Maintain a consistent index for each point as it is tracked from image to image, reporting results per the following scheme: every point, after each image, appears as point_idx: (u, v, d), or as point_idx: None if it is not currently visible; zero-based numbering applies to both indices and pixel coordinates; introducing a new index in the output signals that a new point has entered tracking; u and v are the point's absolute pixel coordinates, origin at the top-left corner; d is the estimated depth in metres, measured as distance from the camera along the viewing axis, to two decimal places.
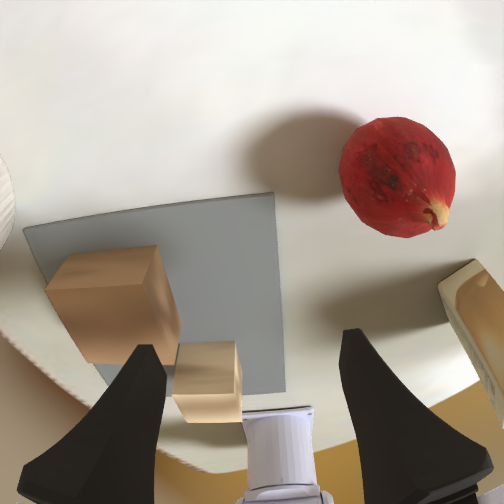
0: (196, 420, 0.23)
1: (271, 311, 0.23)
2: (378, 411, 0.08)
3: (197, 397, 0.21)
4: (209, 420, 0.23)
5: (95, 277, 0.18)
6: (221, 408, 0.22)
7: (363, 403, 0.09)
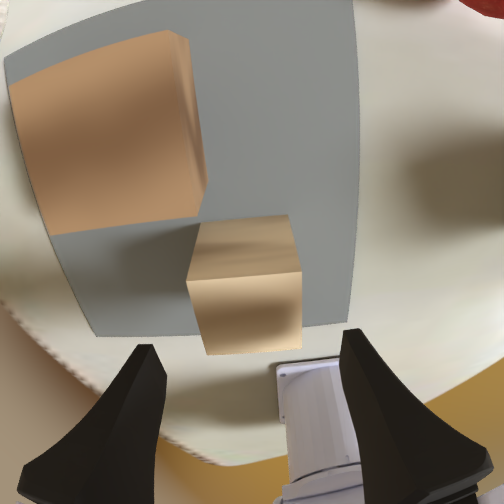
0: (224, 348, 0.15)
1: (345, 158, 0.15)
2: (378, 411, 0.08)
3: (233, 287, 0.13)
4: (246, 347, 0.15)
5: None
6: (272, 315, 0.14)
7: (364, 403, 0.09)
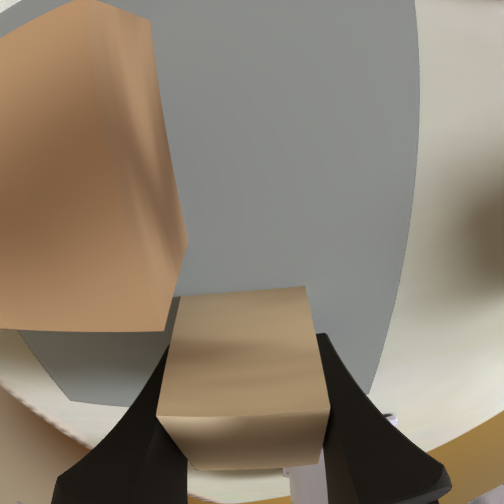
0: (217, 466, 0.10)
1: (392, 207, 0.10)
2: (334, 419, 0.08)
3: (227, 424, 0.08)
4: (247, 466, 0.10)
5: None
6: (282, 444, 0.08)
7: None
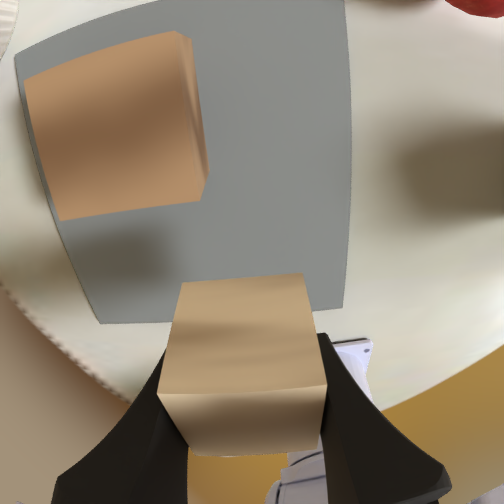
0: (216, 451, 0.10)
1: (338, 149, 0.16)
2: (333, 419, 0.08)
3: (226, 402, 0.08)
4: (246, 451, 0.10)
5: None
6: (281, 426, 0.09)
7: (324, 409, 0.09)
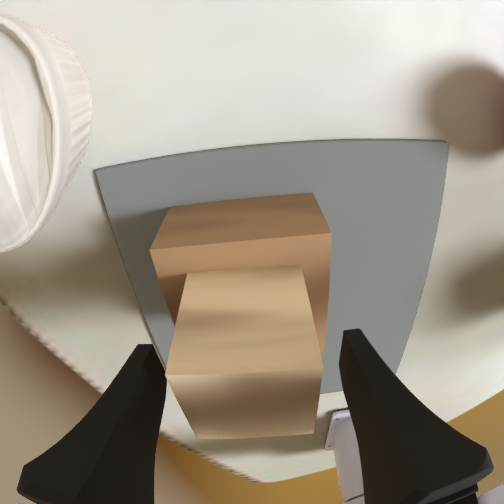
0: (218, 434, 0.11)
1: (415, 282, 0.19)
2: (378, 411, 0.08)
3: (229, 383, 0.09)
4: (246, 434, 0.11)
5: (241, 228, 0.13)
6: (280, 408, 0.10)
7: (364, 403, 0.09)
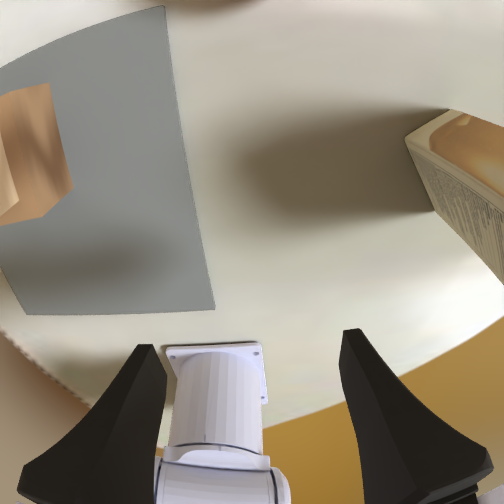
0: None
1: (171, 160, 0.17)
2: (378, 411, 0.08)
3: None
4: None
5: None
6: None
7: (364, 403, 0.09)
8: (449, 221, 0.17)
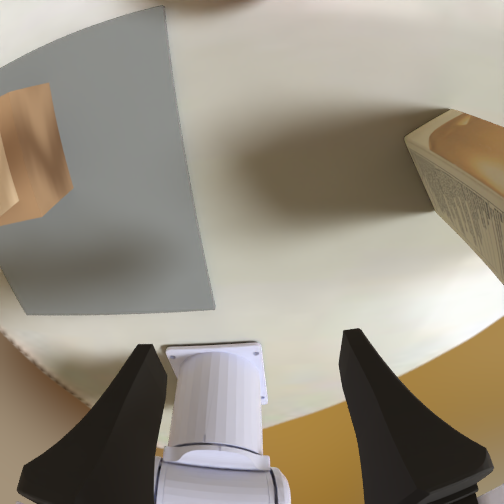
0: None
1: (171, 160, 0.17)
2: (378, 411, 0.08)
3: None
4: None
5: None
6: None
7: (363, 403, 0.09)
8: (449, 221, 0.17)
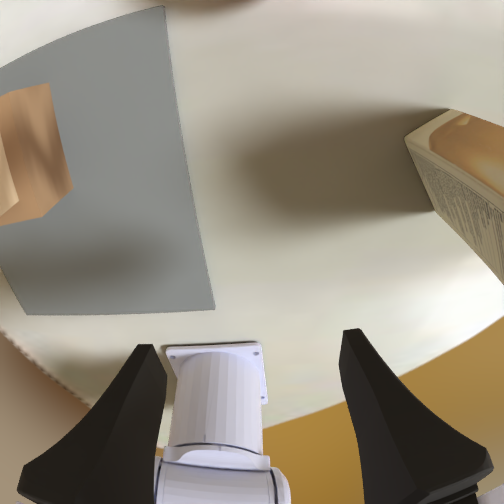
0: None
1: (171, 160, 0.17)
2: (378, 411, 0.08)
3: None
4: None
5: None
6: None
7: (363, 403, 0.09)
8: (449, 221, 0.17)
